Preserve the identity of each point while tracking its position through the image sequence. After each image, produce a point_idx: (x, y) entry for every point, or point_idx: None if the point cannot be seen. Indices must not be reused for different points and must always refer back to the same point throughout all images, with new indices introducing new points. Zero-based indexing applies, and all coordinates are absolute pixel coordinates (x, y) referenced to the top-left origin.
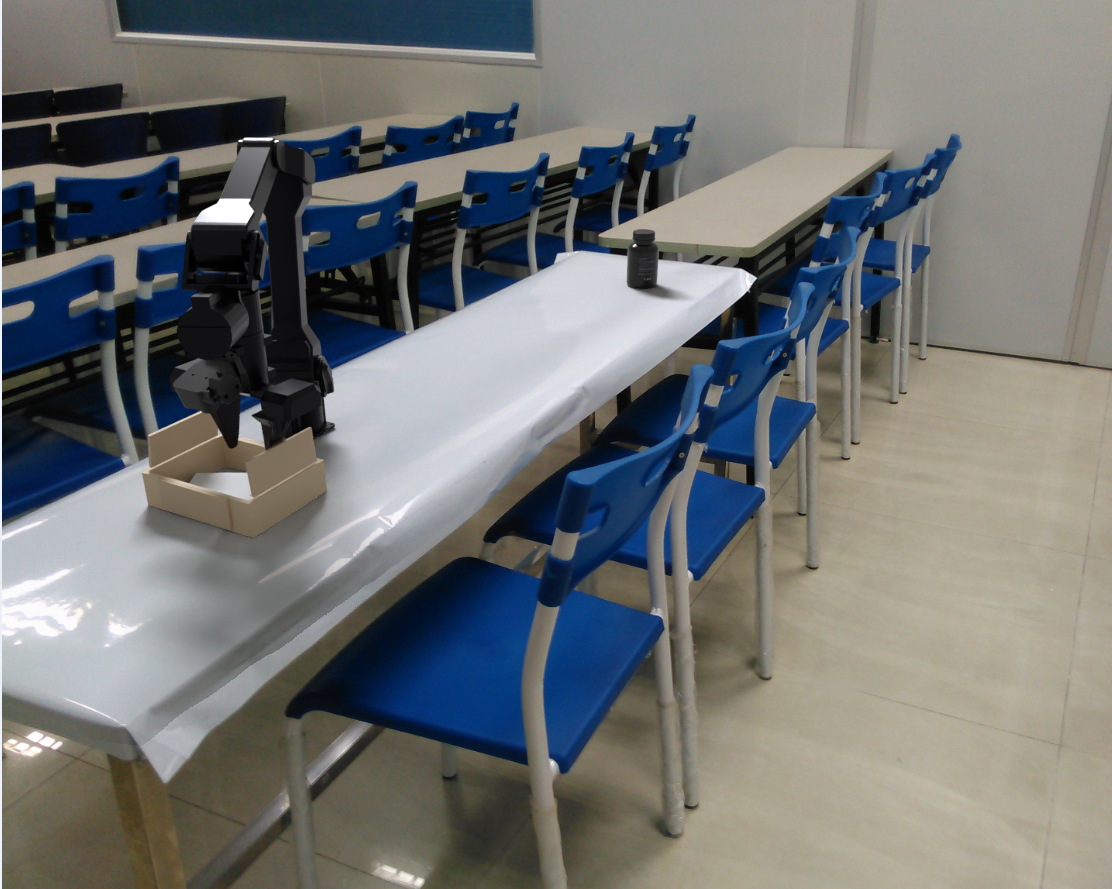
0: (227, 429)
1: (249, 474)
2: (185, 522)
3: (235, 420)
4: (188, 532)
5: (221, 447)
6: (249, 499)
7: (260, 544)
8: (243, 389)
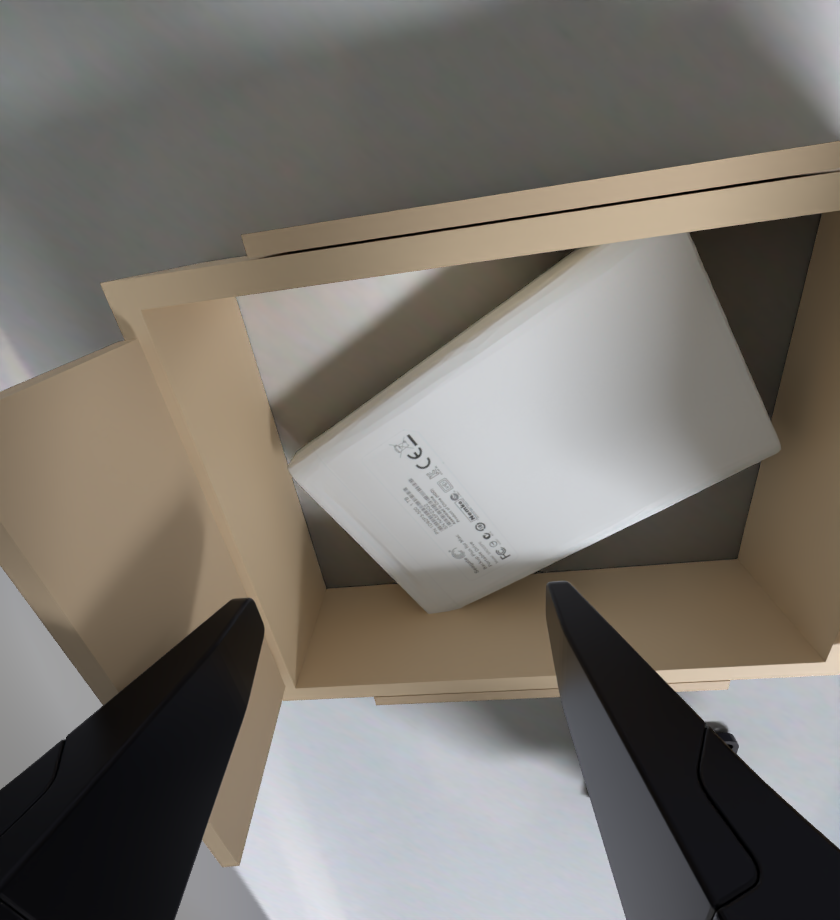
0: (593, 707)
1: (11, 387)
2: (556, 165)
3: (602, 811)
4: (467, 104)
5: (791, 612)
6: (387, 417)
7: (141, 244)
8: None
